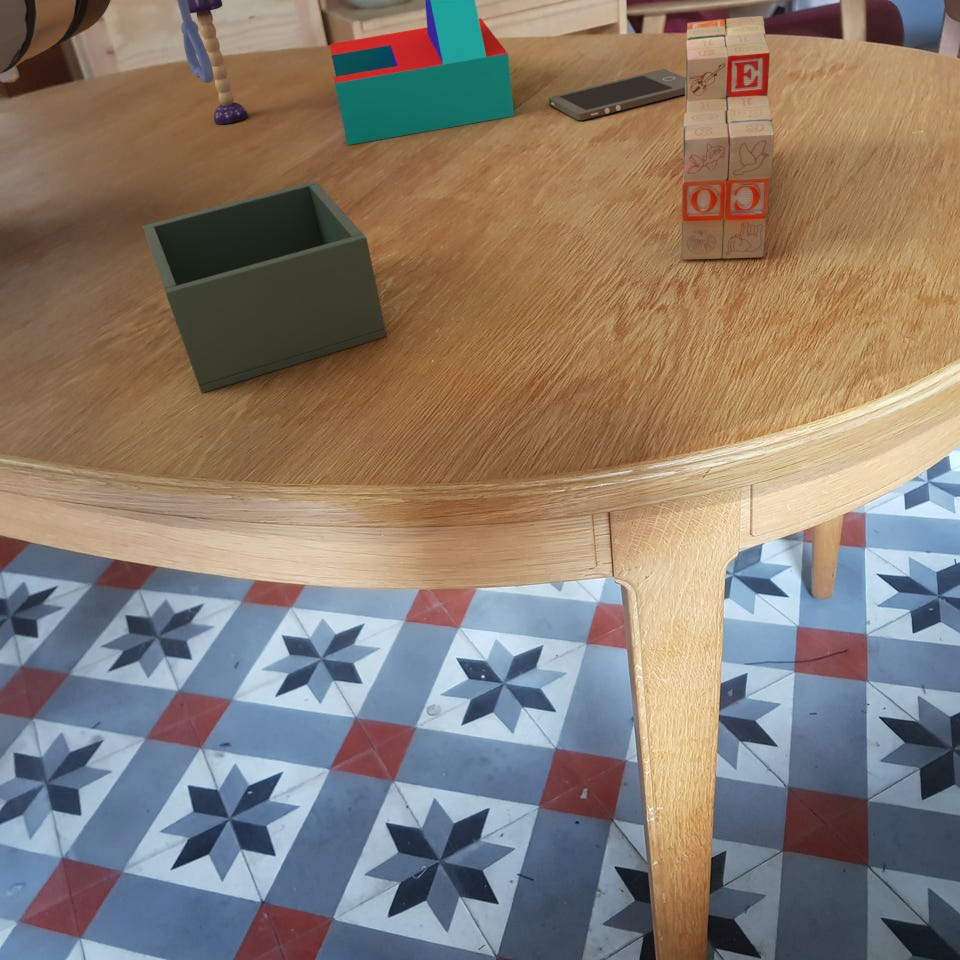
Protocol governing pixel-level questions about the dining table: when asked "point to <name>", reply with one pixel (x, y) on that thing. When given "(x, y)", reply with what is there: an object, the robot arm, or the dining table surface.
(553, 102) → the smartphone
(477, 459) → the dining table surface
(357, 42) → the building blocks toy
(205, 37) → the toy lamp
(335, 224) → the toy bin
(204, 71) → the baby rattle
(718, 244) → the stack of blocks
